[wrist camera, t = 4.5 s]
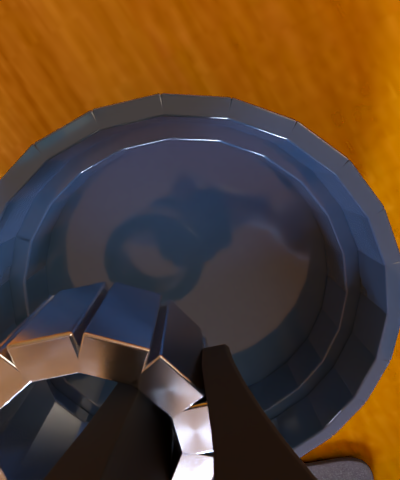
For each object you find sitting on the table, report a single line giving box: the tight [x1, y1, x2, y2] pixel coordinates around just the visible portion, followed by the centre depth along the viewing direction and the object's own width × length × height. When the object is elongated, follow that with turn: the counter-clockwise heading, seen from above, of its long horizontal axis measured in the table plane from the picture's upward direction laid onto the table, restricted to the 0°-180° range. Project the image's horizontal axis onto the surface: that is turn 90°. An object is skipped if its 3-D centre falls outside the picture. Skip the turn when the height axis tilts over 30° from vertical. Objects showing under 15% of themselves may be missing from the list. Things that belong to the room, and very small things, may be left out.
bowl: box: [0, 93, 400, 480], centre depth 12 cm, size 15×15×4 cm
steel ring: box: [0, 282, 214, 480], centre depth 8 cm, size 6×6×3 cm
